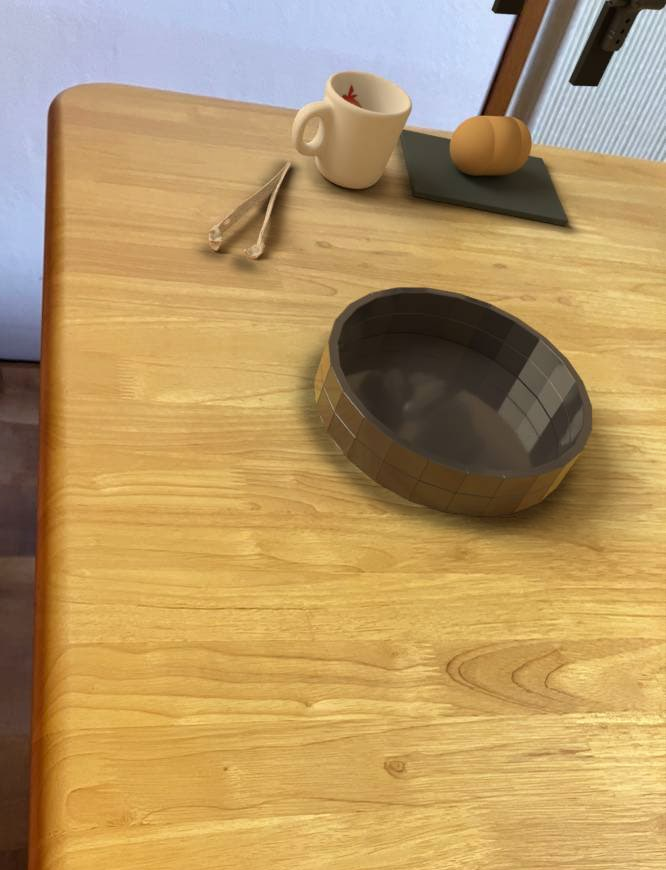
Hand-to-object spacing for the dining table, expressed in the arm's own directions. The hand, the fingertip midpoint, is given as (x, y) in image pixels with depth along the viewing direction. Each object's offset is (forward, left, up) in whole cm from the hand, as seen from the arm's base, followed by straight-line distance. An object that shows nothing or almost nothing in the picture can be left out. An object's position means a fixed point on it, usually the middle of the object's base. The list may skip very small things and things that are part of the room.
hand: (541, 47), depth 80 cm
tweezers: (+23, +13, -13) cm, 30 cm away
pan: (+10, +37, -13) cm, 41 cm away
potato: (0, 0, -13) cm, 13 cm away
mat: (0, 0, -13) cm, 13 cm away
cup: (+16, +5, -13) cm, 22 cm away
